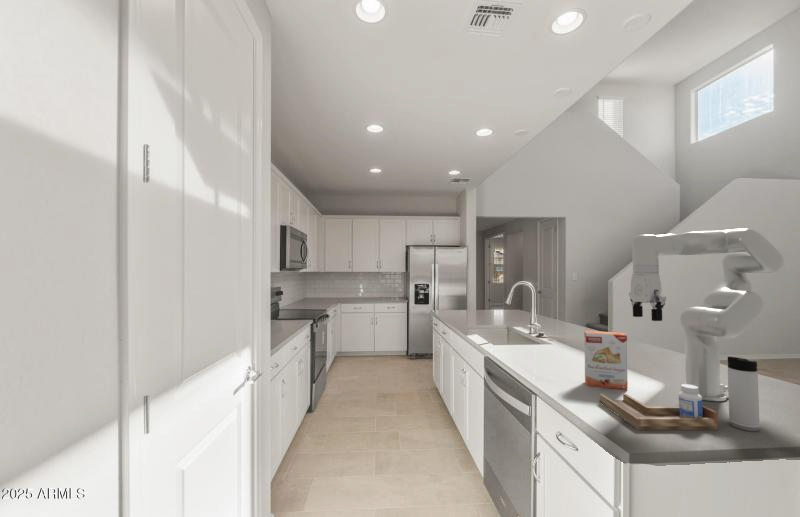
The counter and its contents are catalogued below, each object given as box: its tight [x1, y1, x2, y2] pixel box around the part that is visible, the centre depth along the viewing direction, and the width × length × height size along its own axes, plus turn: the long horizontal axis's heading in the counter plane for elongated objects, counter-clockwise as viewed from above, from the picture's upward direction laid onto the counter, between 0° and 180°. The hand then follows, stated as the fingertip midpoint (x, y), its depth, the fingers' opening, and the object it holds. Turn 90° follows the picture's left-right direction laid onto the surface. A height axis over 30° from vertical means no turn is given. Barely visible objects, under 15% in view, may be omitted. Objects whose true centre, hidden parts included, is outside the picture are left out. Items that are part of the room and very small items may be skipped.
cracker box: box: [583, 330, 629, 390], centre depth 138 cm, size 14×6×21 cm, turn 68°
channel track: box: [599, 393, 719, 431], centre depth 110 cm, size 22×20×5 cm
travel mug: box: [727, 356, 760, 432], centre depth 102 cm, size 6×7×20 cm
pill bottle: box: [678, 383, 704, 418], centre depth 105 cm, size 6×5×10 cm
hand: (647, 318), depth 124 cm, fingers open, 9 cm apart
